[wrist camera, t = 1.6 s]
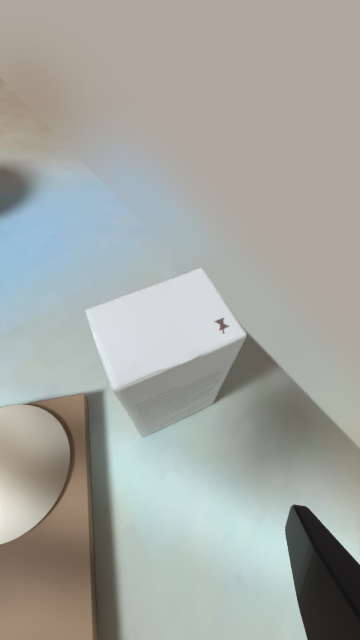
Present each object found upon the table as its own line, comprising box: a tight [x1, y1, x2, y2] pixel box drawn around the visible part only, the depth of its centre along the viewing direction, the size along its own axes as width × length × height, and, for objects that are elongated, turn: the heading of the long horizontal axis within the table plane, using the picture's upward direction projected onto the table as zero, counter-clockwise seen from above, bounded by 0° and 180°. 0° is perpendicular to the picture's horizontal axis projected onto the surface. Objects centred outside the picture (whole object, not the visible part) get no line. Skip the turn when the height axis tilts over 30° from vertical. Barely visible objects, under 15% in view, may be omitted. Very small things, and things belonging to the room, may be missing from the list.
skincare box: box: [86, 268, 247, 437], centre depth 17 cm, size 6×4×12 cm
